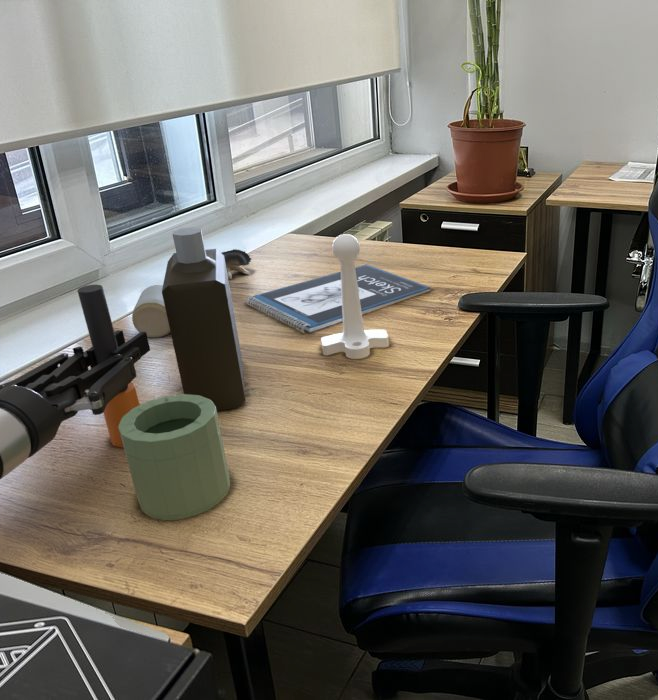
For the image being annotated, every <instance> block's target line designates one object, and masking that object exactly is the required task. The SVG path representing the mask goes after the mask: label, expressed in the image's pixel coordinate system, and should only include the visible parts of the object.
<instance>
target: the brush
mask: <svg viewBox="0 0 658 700" xmlns="http://www.w3.org/2000/svg"><path fill="white" fill-rule="evenodd" d="M77 295H78V298H79V302H80V305H81V309H82V312H83V317H84V320H85V324H86V328H87V331H88V336H89V338H90V343H91V347H92V346H93V350H94V354H95V357H96V361H97V365H98V364H100V363H102V362H104V361H105V360H107V359H109V358H111V357H112V355H111V352H112V351H114V350H116V349H117V348H118V345H117V341H116V337H115V333H114V332H115V329H114V325H113V322H112V321H113V320H112V318H111V317H112V316H111V313H110V310H109V306H108V302H107V297H106V293H105V290H104V286H103V285H101V284H88V285H83V286H82V287H79V288H78V289H77ZM139 405H141V404H140V400H139V397H138V393H137V389H136V385H135V383H133V382H132V381H131V382H130V383H129V384H128V385H127V386H126V387H125V388H124V389H123V390H122V391H121V392H119V393H118V394H117V395H116V396H115V397H114V398H113V399H112V400H111V401H110V402H109V403H108V404H107V405H106V408H105V411H104V412H103V413H102V414H103V416H104V420H105V424H106V428H107V431H108V434H109V438H110V442H111V444H112V446H114V447H116V448H124V447H123V443H122V440H121V436H120V432H119V429H118V426H119V424H120V421H121V419H122V417H123V416H125V415H126V414H127V413H128V412H129V411H131V410H132V409H133V408H135V407H137V406H139Z"/></svg>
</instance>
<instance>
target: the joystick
mask: <svg viewBox="0 0 658 700" xmlns="http://www.w3.org/2000/svg"><path fill="white" fill-rule="evenodd" d="M331 245H332V246H331V251H332V254H333V256H334V257H335V258H336V259H337V261H338V262H339V264H340V272H341V289H342V315H343V322H342V332H338V333H334V334H330V335H325V336H321V338H320V344H321V345H320V346H321V350H322V355H323V356H331V355H334V354H337V353H345V356H346V358H348V359H351V360H360V359H364V358H367V357H368V356H370V354H371V349H373V348H384V349H385V348H389V347H390V340H389V334H388V332H387V330H386V329H384V328H382V329H381V328H380V329H377V328H374V329H365V326H364V318H363V315H362V312H361V305H360V298H359V291H358V284H357V277H356V270H355V267H356V264H355V263H356V261H357V260H356V259H357V258H358V256H359V255H360V252H361V245H360V242H359V240H358V239H357V238H356V237H355V236H354V235H352V234H349V233H344V234H340V235H338V236H337V237H335V238H334V240H333V241H332V243H331Z"/></svg>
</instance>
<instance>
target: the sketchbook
mask: <svg viewBox="0 0 658 700" xmlns="http://www.w3.org/2000/svg"><path fill="white" fill-rule="evenodd" d="M355 270H356V277H357V284H358V291H359V298H360V305H361V312H362V316H363V315H366V314H369V313H371V312H374V311H377V310H380V309H383V308H385V307H388V306H392V305H394V304H397V303H400V302H402V301H406V300H409V299H411V298H414V297H417V296H420V295H422V294H426V293H429V292H431V290H432V289H431V287H430V286H428V285H425V284H422V283H420V282H416V281H413V280H411V279H408V278H406V277H402V276H400V275H397V274H394V273H392V272H388V271H386V270H383V269H380V268H378V267H375V266H372V265H370V264H362V265H359V266H355ZM245 302H246V305H247V306H250V307H252V308H254V309H255V310H258V311H259V312H262V313H264V314H266V315H268V316H269V317H271V318H273V319H276V320H277V321H279V322H281V323H283V324H286V325H288V326H289V327H291V328H293V329H295V330H296V331H299V332H301V333H302V334H306V332H307V333H309V334H312V333H314V332H315V333H316V332H317V331H321V330H323V329H326V328H329V327H332V326H334V325H338V324H340V323H343V315H342V289H341V271H338V272H334V273H330V274H326V275H323V276H320V277H315V278H312V279H309V280H306V281H302V282H298V283H295V284H291V285H288V286H283V287H280V288H277V289H273V290H270V291H266V292H262V293H259V294H255V295H251V296H248V297H247V298H246V301H245Z"/></svg>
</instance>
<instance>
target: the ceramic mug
mask: <svg viewBox="0 0 658 700" xmlns="http://www.w3.org/2000/svg"><path fill="white" fill-rule="evenodd" d="M162 288H163V284H153V285H151V286H147V287H146V288H144V289H143V290H142V292H141V293H140V295H139V298H138V300H137V301H136V303H135V306H134V308H133V311H132V314H131V319H132V320H131V321H132V324H133V327H134V328H135V329H136V331H138V332H139V333H140V332H146V333H147V338H153V339H155V338H163V337H166V336H167V335H168V334H171V332H170V327H169V323H168V318H167V314H166V309H165V305H164V300H163V295H162Z"/></svg>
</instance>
